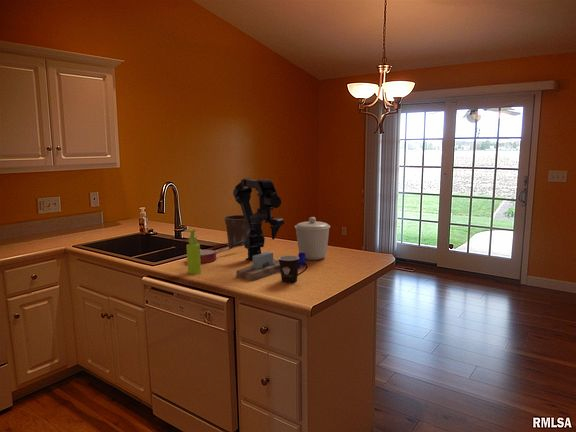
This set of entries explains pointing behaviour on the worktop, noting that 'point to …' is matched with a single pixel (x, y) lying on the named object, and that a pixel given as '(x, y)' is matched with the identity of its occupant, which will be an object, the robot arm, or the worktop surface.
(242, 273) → the rail
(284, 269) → the coffee mug
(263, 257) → the grey channel block
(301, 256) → the cable clip
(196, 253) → the soap dispenser
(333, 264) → the worktop surface
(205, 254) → the frying pan
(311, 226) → the canister
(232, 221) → the plant pot
